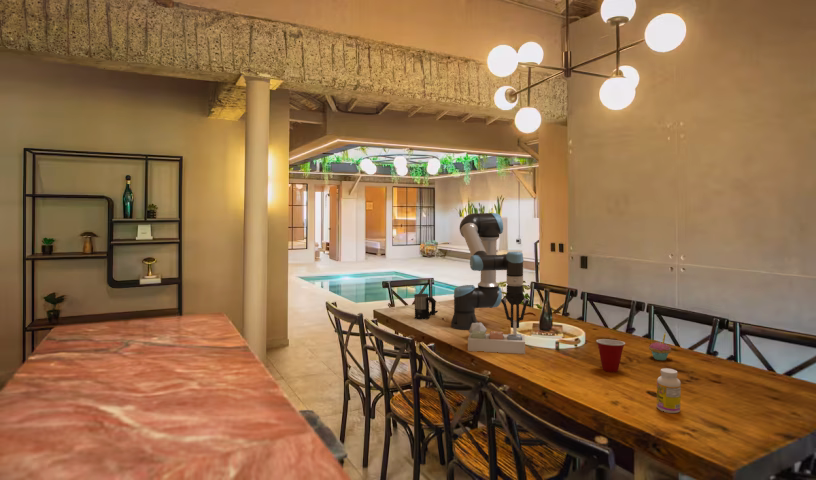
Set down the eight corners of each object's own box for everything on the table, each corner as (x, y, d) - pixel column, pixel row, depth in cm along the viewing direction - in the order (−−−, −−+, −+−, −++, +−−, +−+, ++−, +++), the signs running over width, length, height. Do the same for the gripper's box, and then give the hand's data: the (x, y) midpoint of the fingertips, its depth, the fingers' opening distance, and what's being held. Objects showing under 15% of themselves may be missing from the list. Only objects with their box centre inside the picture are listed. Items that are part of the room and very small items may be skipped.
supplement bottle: (654, 404, 152) (655, 366, 151) (677, 406, 150) (677, 368, 149) (659, 412, 145) (660, 373, 145) (682, 415, 143) (683, 374, 143)
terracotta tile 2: (490, 338, 220) (490, 330, 220) (502, 339, 219) (502, 331, 219) (489, 341, 215) (489, 334, 214) (502, 342, 213) (502, 334, 213)
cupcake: (670, 357, 201) (670, 330, 200) (672, 362, 193) (672, 335, 193) (648, 354, 205) (648, 328, 204) (649, 360, 197) (649, 333, 196)
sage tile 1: (472, 337, 222) (472, 330, 222) (485, 338, 221) (485, 330, 221) (471, 341, 216) (471, 333, 216) (484, 341, 215) (484, 333, 215)
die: (484, 342, 231) (491, 325, 234) (469, 334, 231) (476, 317, 234) (478, 343, 239) (485, 327, 242) (464, 335, 239) (471, 319, 242)
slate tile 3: (508, 340, 219) (508, 333, 218) (521, 341, 217) (521, 333, 217) (508, 344, 213) (508, 336, 213) (521, 345, 211) (521, 337, 211)
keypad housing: (470, 343, 226) (469, 332, 225) (524, 346, 220) (524, 335, 220) (467, 351, 214) (467, 339, 214) (525, 353, 208) (525, 342, 208)
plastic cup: (623, 367, 189) (623, 338, 188) (626, 375, 179) (626, 345, 178) (595, 364, 193) (595, 336, 192) (596, 372, 182) (596, 343, 182)
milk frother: (413, 319, 281) (412, 295, 280) (416, 314, 296) (416, 291, 295) (436, 320, 278) (435, 296, 278) (438, 314, 294) (438, 291, 293)
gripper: (500, 285, 211) (500, 336, 212) (529, 286, 209) (529, 337, 210) (500, 283, 219) (500, 332, 220) (528, 284, 216) (528, 333, 217)
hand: (514, 334), depth 215 cm, fingers closed
